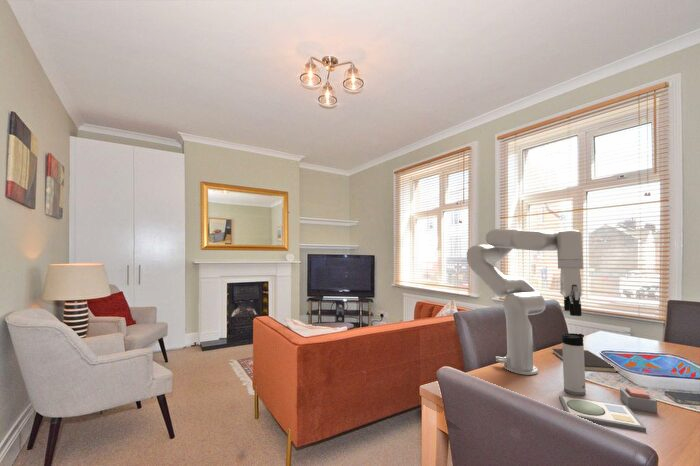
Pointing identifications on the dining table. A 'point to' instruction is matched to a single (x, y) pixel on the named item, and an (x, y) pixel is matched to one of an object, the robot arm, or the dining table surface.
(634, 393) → the button
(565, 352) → the travel mug
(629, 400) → the button housing
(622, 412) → the picture board
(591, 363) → the hardcover book
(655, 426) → the dining table surface
